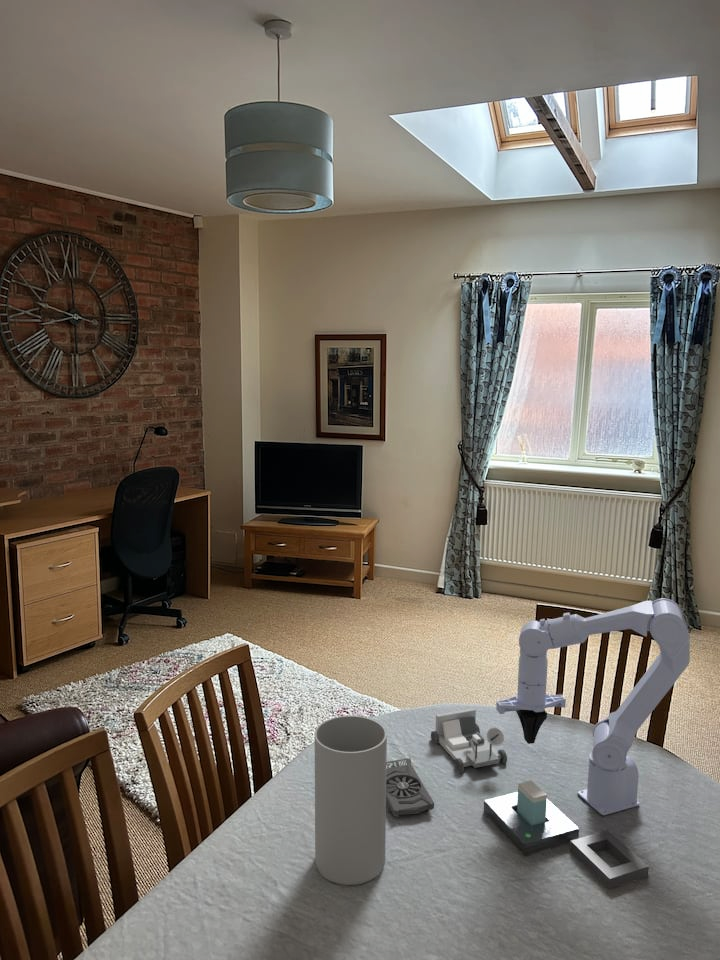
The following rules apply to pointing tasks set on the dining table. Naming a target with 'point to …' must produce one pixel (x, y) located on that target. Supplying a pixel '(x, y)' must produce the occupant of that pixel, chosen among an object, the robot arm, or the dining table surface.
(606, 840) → the holster
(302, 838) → the dining table surface
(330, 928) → the dining table surface
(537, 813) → the plug
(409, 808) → the graphics card
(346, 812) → the cylinder vase
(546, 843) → the port panel
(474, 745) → the toy car
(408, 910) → the dining table surface
